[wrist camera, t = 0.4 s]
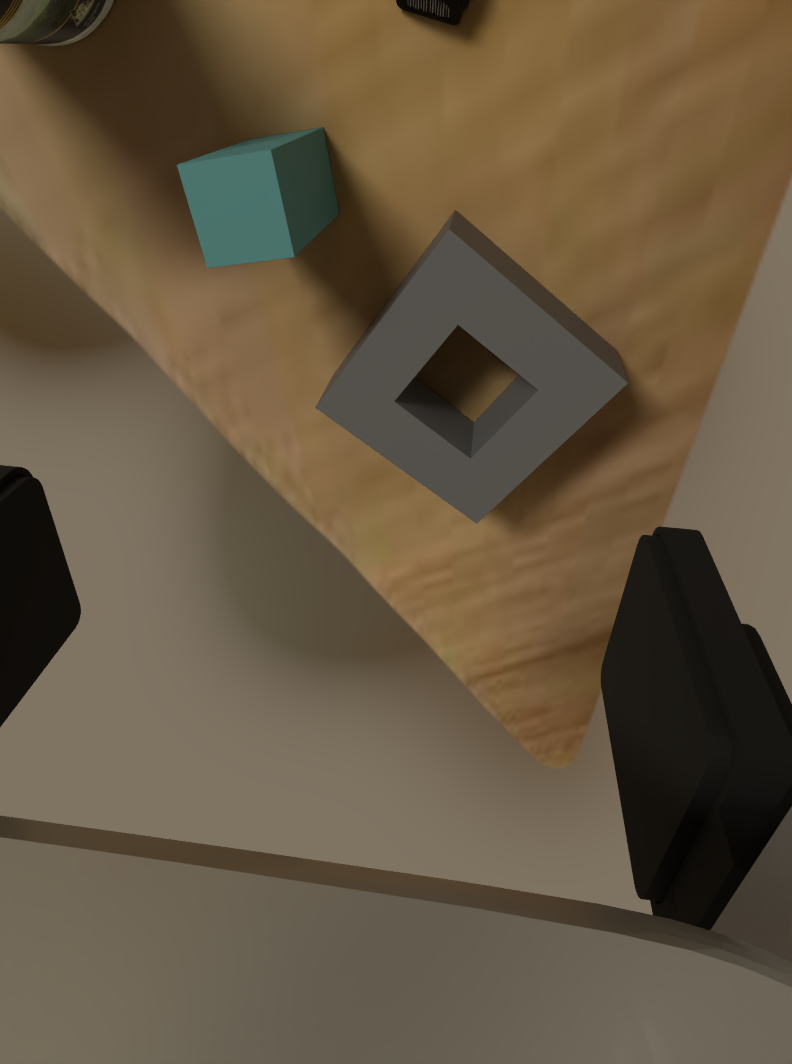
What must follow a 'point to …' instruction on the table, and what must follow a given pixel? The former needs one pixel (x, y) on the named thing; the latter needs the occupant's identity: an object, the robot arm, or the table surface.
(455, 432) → the socket
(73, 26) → the coffee can
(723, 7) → the table surface
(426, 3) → the electric trimmer
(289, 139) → the peg
